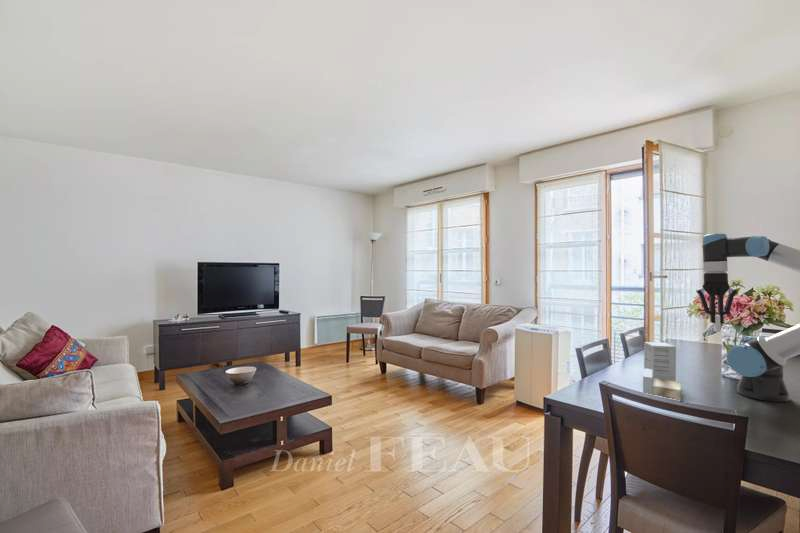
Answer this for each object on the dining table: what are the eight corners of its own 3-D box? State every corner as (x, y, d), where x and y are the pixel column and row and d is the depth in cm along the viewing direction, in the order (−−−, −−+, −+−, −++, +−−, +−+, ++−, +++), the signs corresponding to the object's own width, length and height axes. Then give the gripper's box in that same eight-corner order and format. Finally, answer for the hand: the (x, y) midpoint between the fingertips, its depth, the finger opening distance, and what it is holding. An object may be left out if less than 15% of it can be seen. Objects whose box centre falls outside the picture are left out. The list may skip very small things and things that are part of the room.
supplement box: (676, 385, 166) (676, 346, 166) (652, 384, 168) (652, 345, 168) (665, 379, 176) (666, 342, 175) (643, 378, 177) (643, 341, 177)
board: (652, 388, 163) (652, 369, 163) (652, 398, 151) (652, 377, 151) (644, 386, 165) (644, 368, 165) (643, 396, 153) (643, 376, 153)
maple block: (680, 394, 157) (680, 381, 157) (680, 403, 147) (680, 390, 147) (653, 390, 162) (653, 378, 162) (652, 398, 152) (652, 385, 152)
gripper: (733, 272, 156) (735, 330, 155) (693, 272, 162) (695, 329, 161) (739, 272, 149) (741, 333, 149) (697, 272, 155) (699, 332, 155)
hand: (717, 331), depth 155 cm, fingers closed
